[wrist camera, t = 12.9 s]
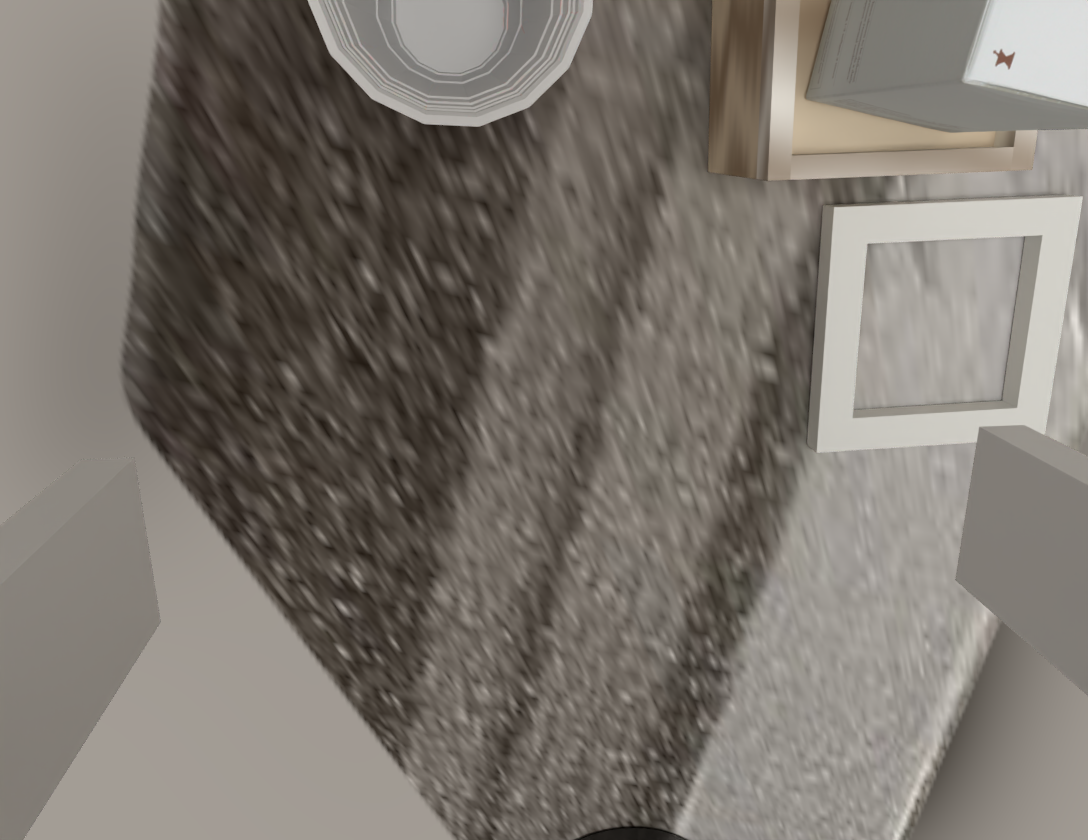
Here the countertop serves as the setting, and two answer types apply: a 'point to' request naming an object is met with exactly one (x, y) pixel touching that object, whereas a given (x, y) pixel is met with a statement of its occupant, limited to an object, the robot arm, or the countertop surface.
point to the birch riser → (818, 110)
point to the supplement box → (957, 63)
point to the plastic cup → (453, 52)
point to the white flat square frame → (1033, 327)
